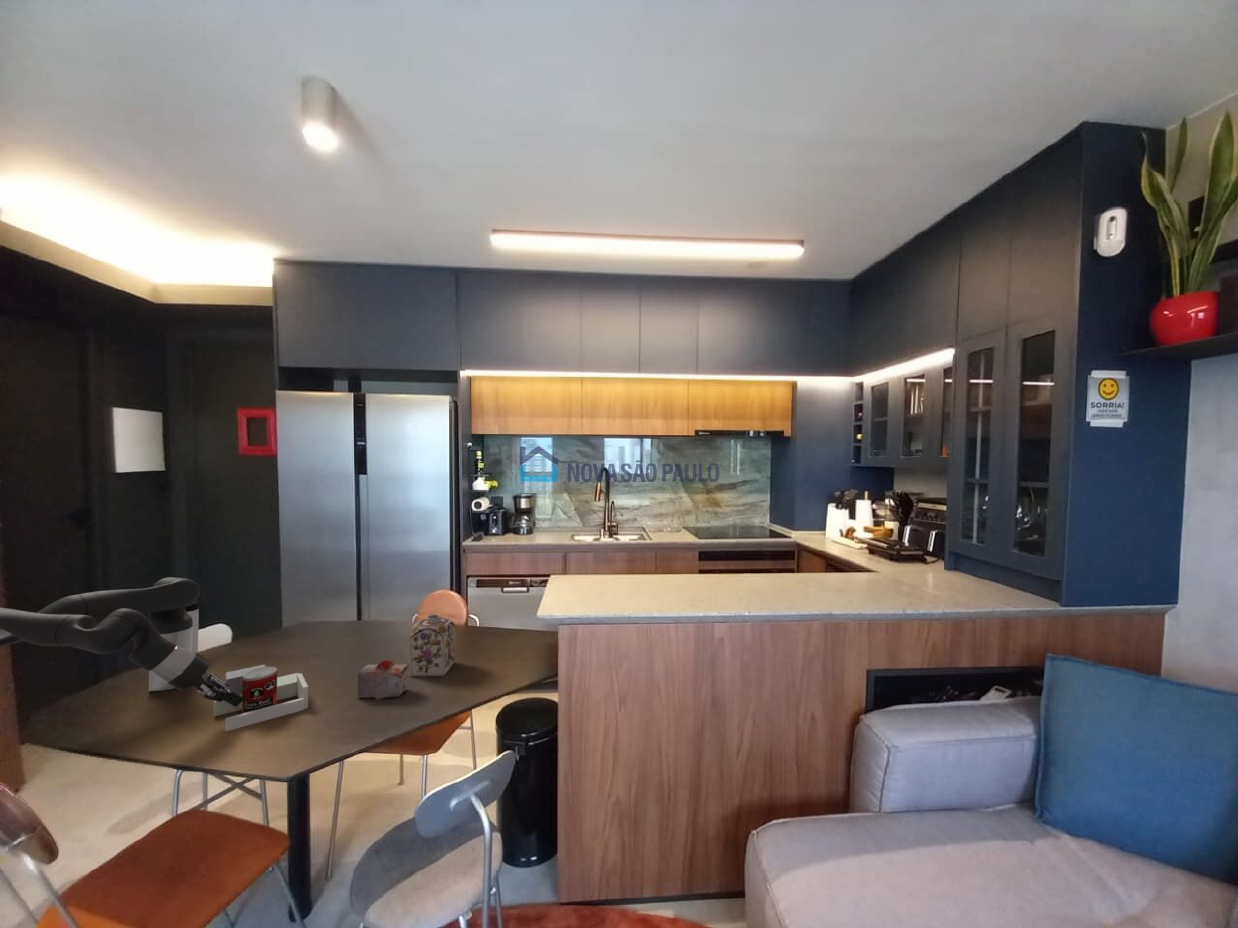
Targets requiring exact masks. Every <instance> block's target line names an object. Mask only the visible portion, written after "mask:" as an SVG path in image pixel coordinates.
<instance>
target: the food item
mask: <svg viewBox="0 0 1238 928" xmlns="http://www.w3.org/2000/svg"><path fill="white" fill-rule="evenodd" d="M409 671H410V663H409V664H408V663H407V664H394V661H392V660H389V659H387V660H383V661H381V662H380V663H378V664H367V665H364V666H363V667H362V668H361V669H360V670H359V671H358V673H357V675H358V677H357V678H358V679H357V680H358V683H357V684H358V685H357V687H358V688H357V690H358V692H357V697H358V699H365V698H366V699H367V698H368V699H371V698H372V699H373V698H375V699H376V700H381V699H382V700H383V699H385V698H398V697H400V696H401V695H402V694H403V693H404V692H406V691H407V690H408V673H409Z"/></svg>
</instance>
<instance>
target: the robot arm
mask: <svg viewBox="0 0 1238 928" xmlns="http://www.w3.org/2000/svg"><path fill="white" fill-rule="evenodd" d="M200 595H201V587H200V585H199V584H198V583H197V582H196V581H194V580H193V579H189V578H183V577H173V576H170V577H163V578H161V579H159V580H158V581H156V582H155V583H154V584H153V585H152V586H150V587H146V588H134V589H133V588H131V589H111V590H110V589H109V590H108V589H107V590H98V591H91V592H85V593H79V594H73V595H68V596H64V597H62V598H60V599H57V600H56V601H54V602H52V603H51V604H48V605H47V606H45V607H44V608H42V609H40V610H39V611H37V612H34V611H25V610H20V609H19V610H18V609H14V608H5V607H0V648H1V647H5V646H9V645H13V644H16V643H21V642H26V643H28V644H31V645H35V646H40V647H71V648H75V649H79V650H84V651H87V652H90V653H93V654H96V655H108V654H111V653H115V652H117V651H118V650H120V649H122V648H123V647H124V646H125V645H126V644H127V643H128V642H129V641H130V640H132V641H133V643H134V645H133V646H134V647H133V648H132V650H131V652H130V654H129V656H128V657H129V661H130V662H131V663H133V664H135V665H137V666H139V667H141V668H142V669H144V670H146V671H147V672H149V673H148V676H149V677H148V692H162V691H163V692H164V691H169V690H174V689H177V690H179V691H181V692H185V691H187V690H188V689H190V688H191V687H194V688H195V689H196V690H195V691H196V692H198V693H199V694H201V695H203V698H204V699H207V700H211V701H213V702H214V701H218V702H222V701H223V700H224V701H226V702H228V703H229V704H231V705H233V706H235V707H236V706H238V705H239V704H240V703H241V702H242V701H243V698H242V697H241V696H240V695H238V694H236V693H234V692H233V691H231V688H228V687H229V685H227V684H226V683H225V681H224V680H223V679H221V678H220V677H219V676H218V675H217V674H216V673H212V672H211V673H210V674H209V672H207V671H208V670H209V668H210V665H211V664H210V663H209V662H208V661H206V660H205V659H203V658H201V657H199V656H198V655H194V654H193V653H192V634H193V619H192V617H191V616H190V615H189V614H188V613H187V612H186V610H185V607H187V606H189V605H190V604H192V603H193V602H195V601H196V600H198V599H199V597H200ZM145 614H148V618H147V617H146V616H145Z"/></svg>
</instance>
